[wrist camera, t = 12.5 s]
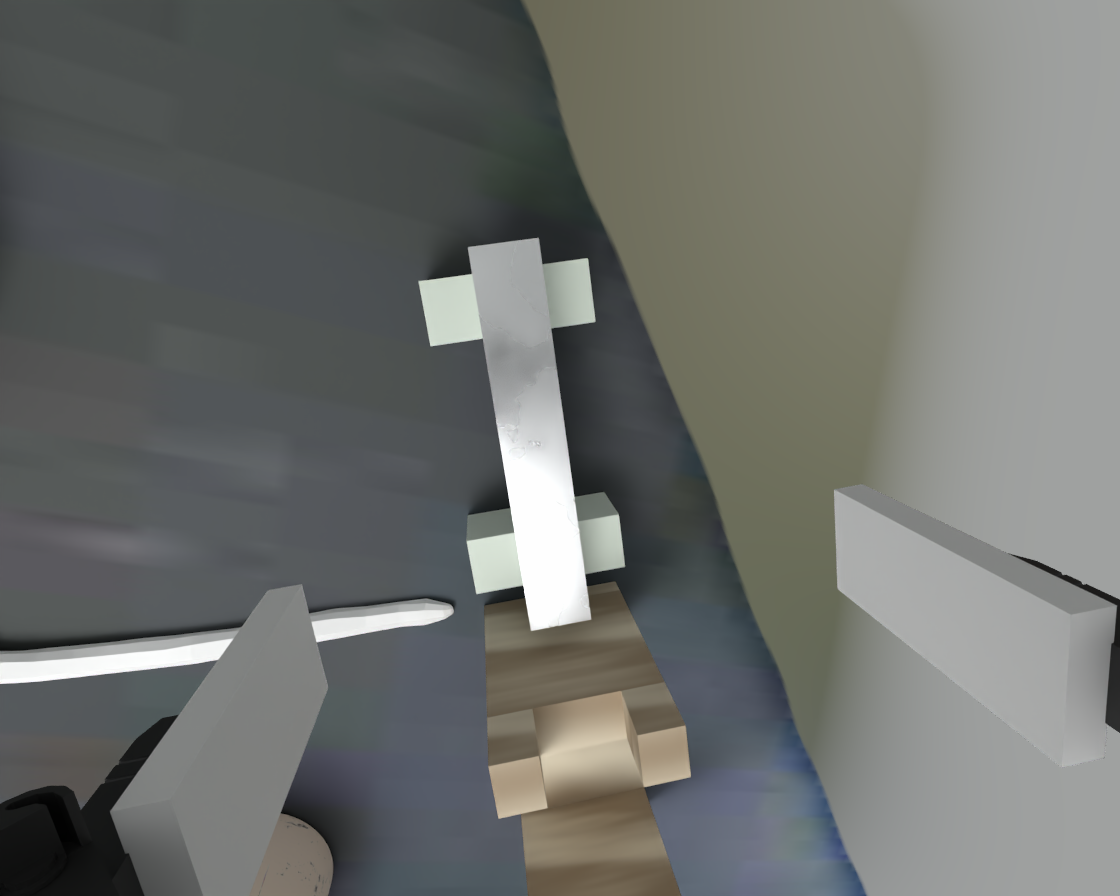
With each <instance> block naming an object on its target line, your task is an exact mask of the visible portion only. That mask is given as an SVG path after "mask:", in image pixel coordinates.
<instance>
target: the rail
mask: <svg viewBox="0 0 1120 896" xmlns="http://www.w3.org/2000/svg"><path fill="white" fill-rule="evenodd" d="M468 252H469V258H470V264H471V270H472V276H473V282H474V288H475V294H476V300H477V306H478V312H479V319H480V325H481V331H482V337H483V343H484V349H485V355H486V361H487V367H488V373H489V379H490V385H491V391H492V398H493V404H494V410H495V416H496V422H497V428H498V434H499V440H500V446H501V452H502V458H503V464H504V470H505V476H506V483H507V489H508V495H509V501H510V507H511V513H512V519H513V525H514V531H515V537H516V543H517V549H518V555H519V561H520V568H521V574H522V580H523V586H524V592H525V598H526V604H527V610H528V616H529V622H530V628H531V631H534V630H539V629H544V628H550V627H555V626H560V625H565V624H571V623H576V622H581V621H586V620H591V614H590V606H589V599H588V592H587V585H586V577H585V570H584V563H583V556H582V548H581V541H580V534H579V527H578V519H577V512H576V505H575V498H574V490H573V483H572V476H571V469H570V461H569V454H568V447H567V440H566V432H565V425H564V418H563V411H562V403H561V396H560V389H559V382H558V374H557V367H556V360H555V353H554V346H553V338H552V331H551V324H550V317H549V309H548V302H547V295H546V288H545V280H544V273H543V266H542V259H541V251H540V244H539V238H533V239H525V240H518V241H510V242H503V243H495V244H488V245H481V246H473V247H468Z"/></svg>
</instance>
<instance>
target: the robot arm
mask: <svg viewBox="0 0 1120 896" xmlns="http://www.w3.org/2000/svg"><path fill="white" fill-rule="evenodd" d="M834 502H835V530H836V531H835V532H836V560H837V588H838V590H839V591H841V592H842V593H843V594H845V595H846V596H847V597H848V598H849V599H851V600H852V601H853V602H854V603H856V604H857V605H858V606H859V607H861V608H862V609H863V610H864V611H866V612H867V613H868V614H869V615H871V616H872V617H873V618H874V619H876V620H877V621H878V622H880V623H881V624H882V625H883V626H884V627H886V628H887V629H888V630H890V631H891V632H892V633H893V634H895V635H896V636H897V637H898V638H900V639H901V640H902V641H903V642H905V643H906V644H907V645H908V646H910V647H911V648H912V649H913V650H915V651H916V652H917V653H918V654H920V655H921V656H922V657H923V658H925V659H926V660H927V661H928V662H930V663H931V664H932V665H934V666H935V667H936V668H937V669H938V670H940V671H941V672H942V673H943V674H945V675H946V676H947V677H948V678H950V679H951V680H952V681H953V682H955V683H956V684H957V685H958V686H960V687H961V688H962V689H964V690H965V691H966V692H967V693H968V694H970V695H971V696H972V697H973V698H975V699H976V700H977V701H978V702H980V703H981V704H982V705H983V706H985V707H986V708H987V709H988V710H990V711H991V712H992V713H993V714H995V715H996V716H997V717H999V718H1000V719H1001V720H1002V721H1003V722H1005V723H1006V724H1007V725H1008V726H1010V727H1011V728H1012V729H1013V730H1015V731H1016V732H1017V733H1018V734H1020V735H1021V736H1022V737H1024V738H1025V739H1026V740H1027V741H1028V742H1030V743H1031V744H1032V745H1033V746H1035V747H1036V748H1037V749H1038V750H1040V751H1041V752H1042V753H1043V754H1045V755H1046V756H1047V757H1049V758H1050V759H1051V760H1052V761H1054V762H1055V763H1056V764H1057V765H1058V766H1060V767H1061V768H1064V767H1069V766H1073V765H1077V764H1082V763H1086V762H1090V761H1095V760H1099V759H1104V758H1105V746H1106V734H1107V724H1108V725H1109V726H1111V727H1112V728H1113V729H1115V730H1116V731H1118V732H1119V733H1120V600H1119V599H1117V598H1115V597H1113V596H1111V595H1109V594H1107V593H1104V592H1102V591H1100V590H1098V589H1096V588H1094V587H1091V586H1089V585H1087V584H1086V585H1082V583H1081V581H1079V580H1076V579H1074V578H1072V577H1070V576H1068V575H1062V573H1061V572H1059V571H1057V570H1055V569H1053V568H1051V567H1049V566H1046V565H1044V564H1042V563H1040V562H1038V561H1034V560H1031V559H1027V558H1023V557H1019V556H1016V555H1012V554H1008V553H1006V552H1004V551H1001V550H999V549H997V548H995V547H993V546H991V545H989V544H987V543H985V542H983V541H981V540H978V539H976V538H974V537H972V536H970V535H968V534H966V533H964V532H962V531H960V530H957V529H955V528H953V527H951V526H949V525H947V524H945V523H943V522H941V521H939V520H936V519H934V518H932V517H930V516H928V515H926V514H924V513H922V512H920V511H918V510H915V509H913V508H911V507H909V506H907V505H905V504H903V503H901V502H898V501H897V500H895V499H892V498H890V497H888V496H886V495H884V494H882V493H880V492H878V491H876V490H873V489H871V488H869V487H867V486H865V485H862V484H861V485H856V486H850V487H845V488H839V489H834ZM327 689H328V685H327V681H326V677H325V673H324V670H323V666H322V662H321V658H320V654H319V650H318V646H317V642H316V638H315V634H314V630H313V627H312V623H311V619H310V615H309V611H308V607H307V603H306V599H305V595H304V591H303V587H302V584H301V585H295V586H289V587H284V588H278V589H273V590H268V591H267V592H266V594H265V595H264V597H263V598H262V599H261V601H260V602H259V604H258V605H257V606H256V608H255V609H254V611H253V612H252V613H251V615H250V616H249V618H248V619H247V620H246V622H245V623H244V625H243V626H242V627H241V629H240V630H239V632H238V633H237V634H236V636H235V637H234V639H233V640H232V641H231V643H230V644H229V646H228V647H227V648H226V650H225V651H224V653H223V654H222V655H221V657H220V658H219V660H218V661H217V662H216V664H215V665H214V667H213V668H212V669H211V671H210V672H209V674H208V675H207V676H206V678H205V679H204V681H203V682H202V683H201V685H200V686H199V688H198V689H197V690H196V692H195V693H194V695H193V696H192V697H191V699H190V700H189V702H188V703H187V704H186V706H185V707H184V709H183V710H182V711H181V713H180V714H179V715H176V716H171V717H166V718H162V719H161V720H159V721H158V722H157V723H156V724H154V725H153V726H152V727H151V728H149V729H148V730H147V731H146V732H144V733H143V734H142V735H141V736H139V737H138V738H137V739H136V740H135V741H134V742H133V744H132V745H131V746H130V747H129V749H128V750H127V751H126V753H125V754H124V755H123V757H122V758H121V759H120V760H119V765H116V766H115V767H114V768H113V769H112V771H111V772H110V773H109V775H108V776H107V777H106V779H105V783H104V784H101V785H100V786H99V788H98V789H97V790H96V792H95V793H94V794H93V795H92V797H91V798H90V799H89V801H88V802H87V803H86V804H85V806H84V807H83V808H82V810H80V807H79V804H78V802H77V799H76V797H75V794H74V791H72V790H71V789H69V788H68V787H66V786H47V787H43V788H39V789H35V790H31V791H28V792H25V793H23V794H21V795H19V796H16V797H14V798H12V799H9V800H7V801H5V802H3V803H1V804H0V896H249V895H250V892H251V889H252V887H253V884H254V882H255V879H256V876H257V874H258V871H259V868H260V866H261V863H262V861H263V858H264V855H265V853H266V850H267V847H268V845H269V842H270V839H271V837H272V834H273V832H274V829H275V826H276V824H277V821H278V818H279V816H280V813H281V810H282V808H283V805H284V803H285V800H286V797H287V795H288V792H289V789H290V787H291V784H292V781H293V779H294V776H295V774H296V771H297V768H298V766H299V763H300V760H301V758H302V755H303V753H304V750H305V747H306V745H307V742H308V739H309V737H310V734H311V731H312V729H313V726H314V724H315V721H316V718H317V716H318V713H319V710H320V708H321V705H322V702H323V700H324V697H325V695H326V692H327Z"/></svg>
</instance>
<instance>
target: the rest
mask: <svg viewBox="0 0 1120 896" xmlns="http://www.w3.org/2000/svg"><path fill="white" fill-rule="evenodd" d="M542 266H543V273H544V280H545V288H546V295H547V302H548V309H549V317H550V324H551V328H558V327H565V326H571V325H578V324H585V323H592V322H595V313H594V305H593V297H592V288H591V280H590V272H589V264H588V258H585V259H578V260H571V261H563V262H556V263H549V264H542ZM419 286H420V292H421V297H422V302H423V308H424V313H425V319H426V324H427V329H428V335H429V340H430V346H436V345H442V344H449V343H456V342H463V341H470V340H476V339H483V337H482V331H481V325H480V319H479V312H478V306H477V300H476V294H475V288H474V282H473V276H472V274H469V275H462V276H455V277H447V278H440V279H433V280H426V281H419ZM574 498H575V505H576V512H577V519H578V527H579V534H580V541H581V548H582V556H583V563H584V570H585V574H588V573H594V572H599V571H605V570H610V569H616V568H621V567H625V562H624V553H623V545H622V537H621V529H620V520H619V514H618V512H617V511H616V509H615V508H614V506H613V505H612V503H611V502H610V500H609V499H608V497H607V496H606V494H605V493H604V492H600V493H594V494H589V495H583V496H577V497H574ZM467 545H468V551H469V556H470V562H471V567H472V572H473V578H474V583H475V589H476V594H479V593H485V592H490V591H496V590H501V589H507V588H512V587H518V586H523V580H522V574H521V568H520V561H519V555H518V549H517V543H516V537H515V531H514V525H513V519H512V513H511V508H507V509H501V510H496V511H490V512H484V513H478V514H472V515H468V520H467Z"/></svg>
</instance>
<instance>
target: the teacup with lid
mask: <svg viewBox="0 0 1120 896" xmlns="http://www.w3.org/2000/svg"><path fill="white" fill-rule="evenodd" d="M332 877H333V860H332V855H331V852H330V849H329V847H328V845H327V843H326V842H325V840H324V839H323V838H322V836H321V835H320V834H319V833H318V832H317V831H316V830H315V829H314V828H312V827H311V826H310V825H308V824H307V823H305V822H304V821H302V820H300V819H297V818H295V817H292V816H289V815H286V814H282V813H280V816H279V818H278V821H277V824H276V826H275V829H274V832H273V834H272V837H271V839H270V842H269V845H268V847H267V850H266V853H265V855H264V858H263V861H262V863H261V866H260V868H259V871H258V874H257V876H256V879H255V882H254V884H253V887H252V889H251V892H250V895H249V896H328V894H329V890H330V886H331V882H332Z"/></svg>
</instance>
